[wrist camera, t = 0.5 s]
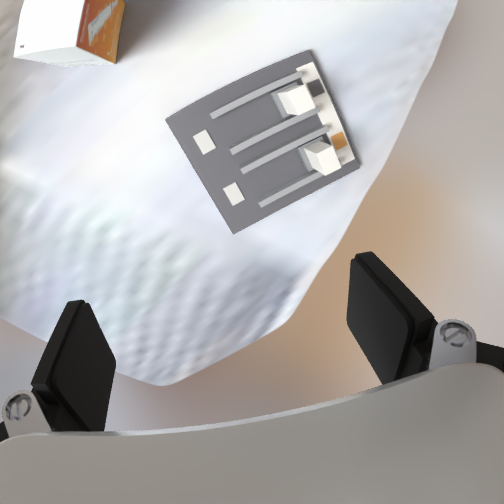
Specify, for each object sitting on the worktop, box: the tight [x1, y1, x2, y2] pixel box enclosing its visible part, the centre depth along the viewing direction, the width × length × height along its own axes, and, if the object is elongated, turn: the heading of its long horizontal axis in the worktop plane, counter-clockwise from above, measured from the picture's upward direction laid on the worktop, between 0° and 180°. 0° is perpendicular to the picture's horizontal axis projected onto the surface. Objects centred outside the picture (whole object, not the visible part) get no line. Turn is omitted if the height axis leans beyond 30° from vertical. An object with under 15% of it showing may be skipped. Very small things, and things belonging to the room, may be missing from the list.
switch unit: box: [165, 50, 360, 234], centre depth 35 cm, size 18×16×2 cm
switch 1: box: [270, 82, 316, 118], centre depth 31 cm, size 3×3×5 cm
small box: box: [14, 0, 125, 67], centre depth 21 cm, size 8×6×13 cm
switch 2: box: [296, 136, 341, 176], centre depth 34 cm, size 3×3×5 cm
